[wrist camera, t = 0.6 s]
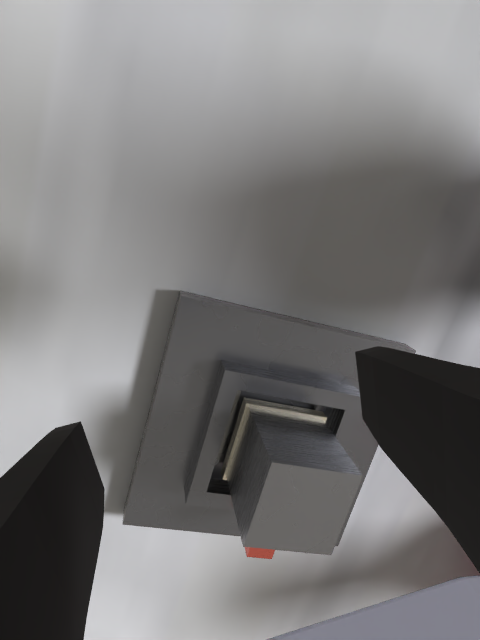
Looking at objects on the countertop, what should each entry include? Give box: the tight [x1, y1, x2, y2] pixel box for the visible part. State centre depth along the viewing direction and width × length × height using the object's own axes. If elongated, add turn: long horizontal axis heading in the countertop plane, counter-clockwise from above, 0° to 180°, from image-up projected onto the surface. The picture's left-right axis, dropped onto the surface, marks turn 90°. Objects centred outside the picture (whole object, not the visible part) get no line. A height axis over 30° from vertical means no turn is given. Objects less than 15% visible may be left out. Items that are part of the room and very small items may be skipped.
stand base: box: [123, 291, 416, 559], centre depth 21 cm, size 12×12×4 cm
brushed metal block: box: [221, 397, 363, 555], centre depth 20 cm, size 4×4×5 cm
